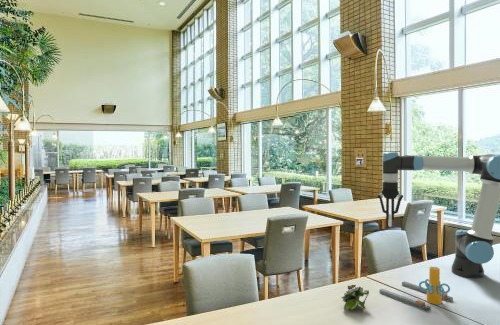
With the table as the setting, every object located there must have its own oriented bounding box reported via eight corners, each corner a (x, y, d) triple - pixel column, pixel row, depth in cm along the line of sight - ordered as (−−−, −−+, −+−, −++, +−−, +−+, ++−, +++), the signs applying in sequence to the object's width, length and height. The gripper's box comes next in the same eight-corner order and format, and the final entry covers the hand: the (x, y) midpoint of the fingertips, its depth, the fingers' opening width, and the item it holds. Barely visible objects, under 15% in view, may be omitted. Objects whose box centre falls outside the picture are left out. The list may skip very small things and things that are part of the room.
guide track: (379, 292, 173) (379, 287, 173) (404, 284, 184) (404, 279, 183) (427, 311, 153) (428, 305, 153) (452, 300, 163) (453, 295, 163)
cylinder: (454, 306, 157) (455, 271, 157) (433, 308, 156) (433, 273, 155) (435, 295, 169) (435, 263, 169) (414, 297, 168) (415, 264, 167)
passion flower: (351, 316, 161) (359, 290, 166) (370, 321, 152) (378, 293, 156) (333, 306, 157) (342, 279, 162) (352, 310, 148) (361, 282, 152)
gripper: (377, 181, 193) (377, 226, 194) (404, 182, 189) (404, 228, 190) (376, 180, 200) (376, 224, 201) (402, 181, 196) (402, 225, 197)
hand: (390, 226), depth 195 cm, fingers closed
